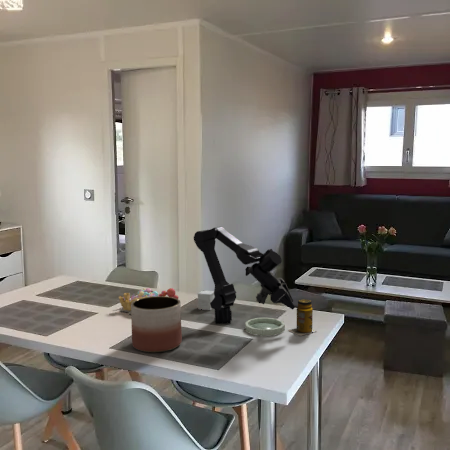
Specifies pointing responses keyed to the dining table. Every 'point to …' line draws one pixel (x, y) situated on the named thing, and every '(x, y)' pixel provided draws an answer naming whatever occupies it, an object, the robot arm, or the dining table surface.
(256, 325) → the round tray
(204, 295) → the skincare box
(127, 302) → the candy landscape model
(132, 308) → the planter
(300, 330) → the condiment
